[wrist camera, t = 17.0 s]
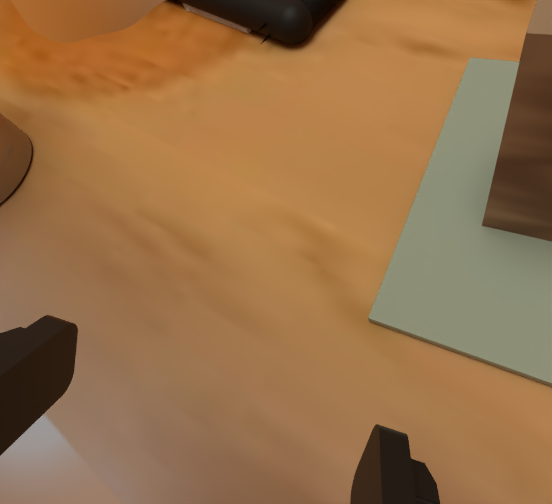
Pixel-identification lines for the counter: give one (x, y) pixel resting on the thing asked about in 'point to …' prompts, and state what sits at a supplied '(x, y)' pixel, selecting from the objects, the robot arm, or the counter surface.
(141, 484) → the counter surface
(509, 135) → the walnut block
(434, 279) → the mat
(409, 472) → the robot arm
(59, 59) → the counter surface
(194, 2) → the door handle
